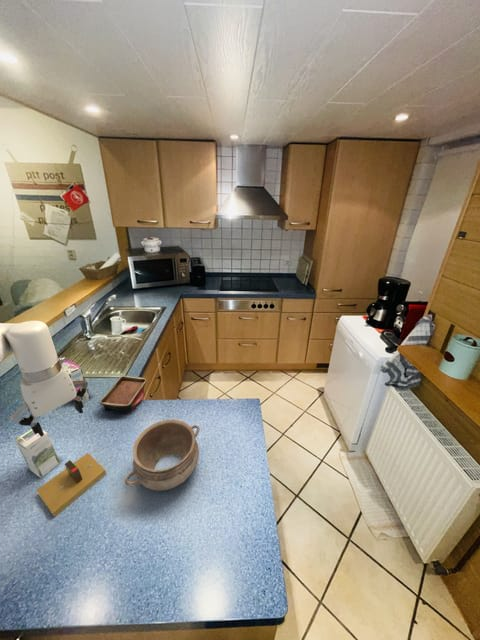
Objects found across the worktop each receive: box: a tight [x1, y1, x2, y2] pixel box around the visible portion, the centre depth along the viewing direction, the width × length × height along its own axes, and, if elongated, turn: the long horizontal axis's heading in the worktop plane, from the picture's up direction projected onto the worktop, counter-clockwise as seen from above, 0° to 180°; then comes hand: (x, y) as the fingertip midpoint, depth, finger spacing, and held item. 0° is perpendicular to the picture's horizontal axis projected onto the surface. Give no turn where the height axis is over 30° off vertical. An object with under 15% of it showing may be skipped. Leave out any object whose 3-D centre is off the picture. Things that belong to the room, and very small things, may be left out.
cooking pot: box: [124, 418, 201, 492], centre depth 75 cm, size 25×19×12 cm
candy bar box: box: [62, 359, 91, 403], centre depth 103 cm, size 11×5×16 cm, turn 56°
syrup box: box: [14, 428, 60, 478], centre depth 75 cm, size 6×6×14 cm
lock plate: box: [36, 452, 107, 518], centre depth 73 cm, size 14×10×3 cm
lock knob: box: [64, 460, 82, 484], centre depth 72 cm, size 5×2×5 cm, turn 56°
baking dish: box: [99, 375, 147, 414], centre depth 102 cm, size 14×18×10 cm
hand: (60, 421), depth 69 cm, fingers open, 9 cm apart
